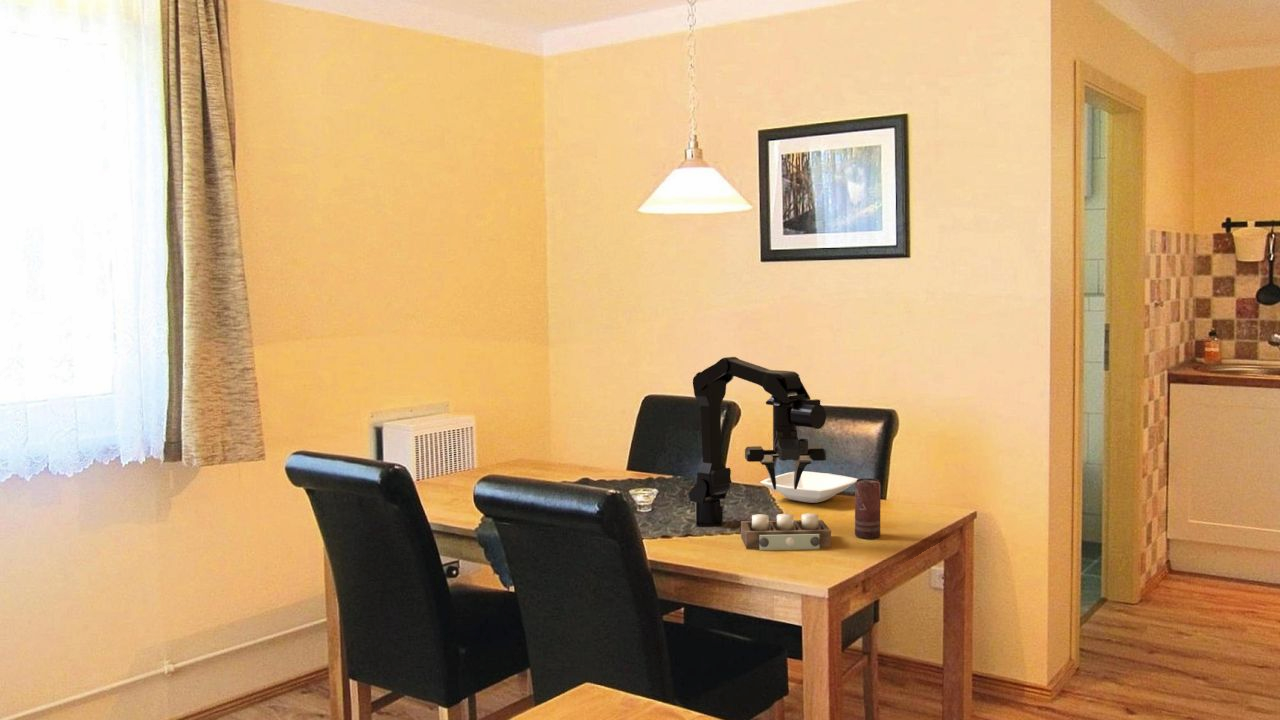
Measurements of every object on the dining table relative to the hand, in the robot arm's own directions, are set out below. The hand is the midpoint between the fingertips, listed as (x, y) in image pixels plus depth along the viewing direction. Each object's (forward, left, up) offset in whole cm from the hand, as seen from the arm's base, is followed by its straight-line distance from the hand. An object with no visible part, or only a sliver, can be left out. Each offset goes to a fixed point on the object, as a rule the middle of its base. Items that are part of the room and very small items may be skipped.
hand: (785, 489), depth 264 cm
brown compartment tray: (0, 0, -13) cm, 13 cm away
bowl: (+14, +46, -13) cm, 50 cm away
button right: (+6, 0, -10) cm, 11 cm away
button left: (-6, 0, -10) cm, 11 cm away
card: (0, -7, -13) cm, 15 cm away
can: (+21, +4, -13) cm, 25 cm away
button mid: (0, 0, -9) cm, 9 cm away
